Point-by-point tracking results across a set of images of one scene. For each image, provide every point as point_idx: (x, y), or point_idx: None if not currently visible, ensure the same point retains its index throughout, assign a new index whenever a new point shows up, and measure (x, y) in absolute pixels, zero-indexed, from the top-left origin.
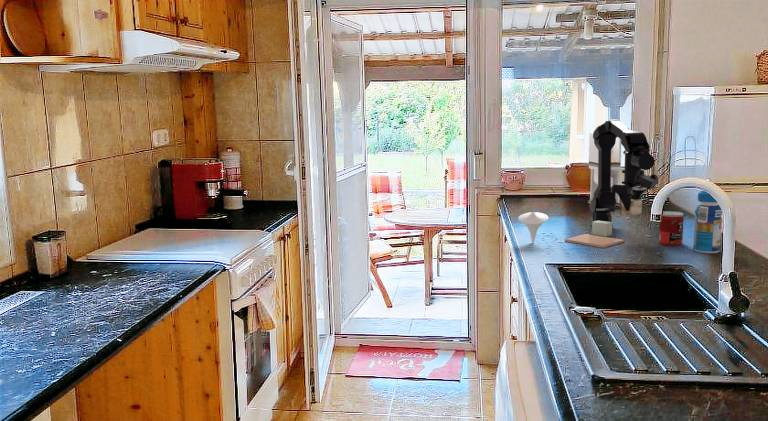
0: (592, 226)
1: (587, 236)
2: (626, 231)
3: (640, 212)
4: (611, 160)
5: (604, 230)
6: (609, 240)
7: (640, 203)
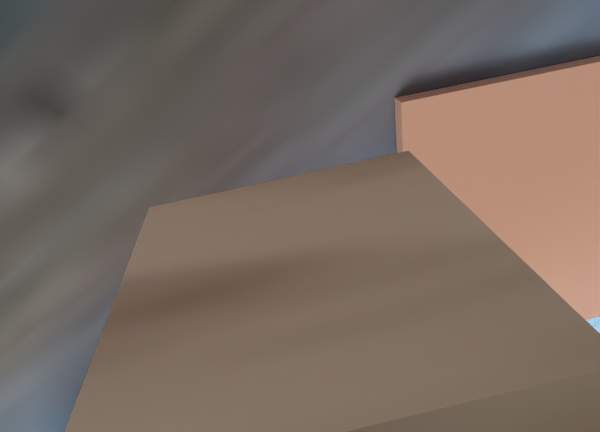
0: None
1: None
2: (72, 343)
3: (187, 208)
4: None
5: None
6: (494, 152)
7: (177, 351)
